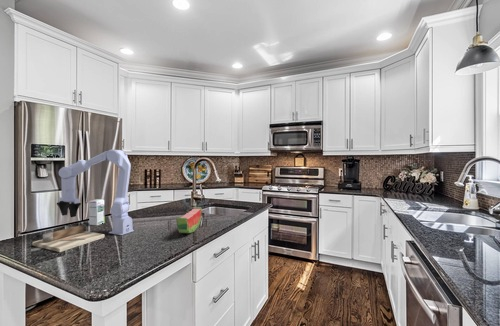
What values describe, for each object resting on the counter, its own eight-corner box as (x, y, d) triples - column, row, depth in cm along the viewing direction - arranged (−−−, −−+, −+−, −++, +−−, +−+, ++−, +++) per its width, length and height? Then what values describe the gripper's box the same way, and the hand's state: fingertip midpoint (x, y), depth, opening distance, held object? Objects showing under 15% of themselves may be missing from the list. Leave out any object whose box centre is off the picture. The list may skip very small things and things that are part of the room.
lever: (45, 242, 106) (45, 235, 106) (41, 241, 108) (40, 234, 107) (87, 230, 123) (87, 224, 123) (83, 229, 125) (83, 223, 125)
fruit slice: (192, 223, 144) (192, 207, 144) (202, 223, 143) (202, 207, 143) (175, 238, 118) (175, 218, 118) (187, 238, 117) (187, 218, 117)
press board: (104, 237, 119) (104, 234, 119) (59, 252, 100) (59, 248, 100) (78, 232, 127) (78, 229, 127) (32, 245, 108) (32, 241, 108)
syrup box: (97, 225, 140) (97, 200, 139) (88, 224, 141) (88, 200, 141) (105, 222, 145) (104, 199, 145) (96, 222, 146) (96, 198, 146)
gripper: (51, 190, 123) (51, 216, 123) (68, 191, 117) (68, 219, 117) (66, 188, 130) (67, 213, 130) (83, 190, 124) (83, 216, 124)
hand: (68, 216), depth 124 cm, fingers open, 7 cm apart
